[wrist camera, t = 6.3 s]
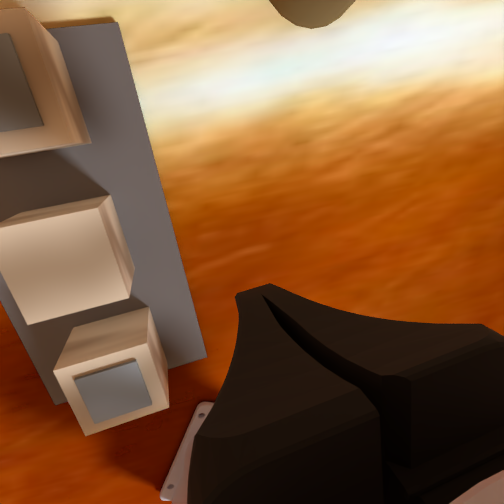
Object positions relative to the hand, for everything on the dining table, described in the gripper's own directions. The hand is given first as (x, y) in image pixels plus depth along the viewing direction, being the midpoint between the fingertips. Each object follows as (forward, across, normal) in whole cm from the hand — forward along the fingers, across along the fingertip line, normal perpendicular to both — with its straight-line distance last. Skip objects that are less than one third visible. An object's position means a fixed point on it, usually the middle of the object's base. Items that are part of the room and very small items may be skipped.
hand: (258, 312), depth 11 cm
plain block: (+9, +7, -2) cm, 12 cm away
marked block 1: (+9, +7, -9) cm, 15 cm away
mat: (+10, +7, -2) cm, 12 cm away
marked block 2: (+9, +7, +5) cm, 13 cm away
